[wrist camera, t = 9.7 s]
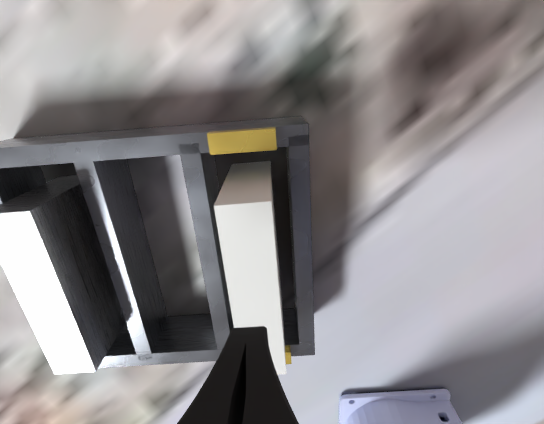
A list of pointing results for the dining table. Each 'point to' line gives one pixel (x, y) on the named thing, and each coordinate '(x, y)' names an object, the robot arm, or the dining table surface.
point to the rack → (135, 243)
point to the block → (252, 252)
